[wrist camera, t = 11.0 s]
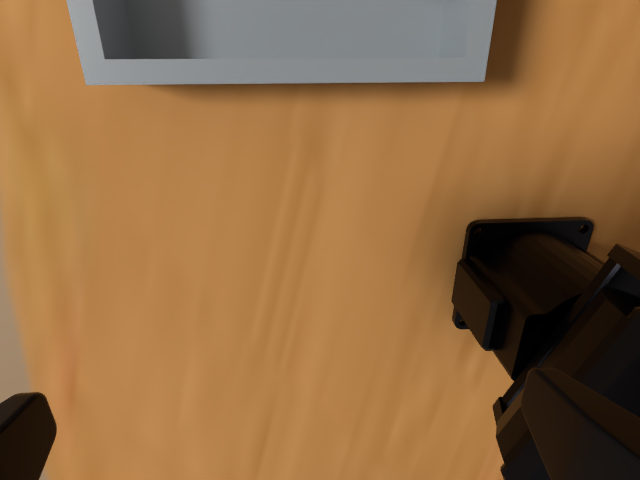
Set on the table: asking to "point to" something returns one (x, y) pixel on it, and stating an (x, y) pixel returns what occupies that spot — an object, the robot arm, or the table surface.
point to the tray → (281, 41)
